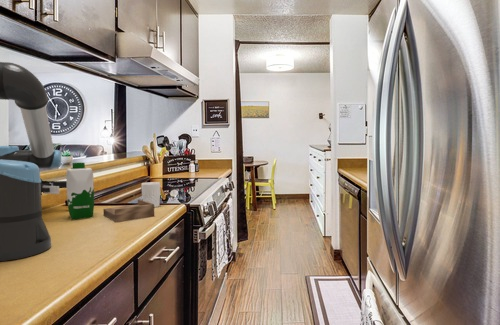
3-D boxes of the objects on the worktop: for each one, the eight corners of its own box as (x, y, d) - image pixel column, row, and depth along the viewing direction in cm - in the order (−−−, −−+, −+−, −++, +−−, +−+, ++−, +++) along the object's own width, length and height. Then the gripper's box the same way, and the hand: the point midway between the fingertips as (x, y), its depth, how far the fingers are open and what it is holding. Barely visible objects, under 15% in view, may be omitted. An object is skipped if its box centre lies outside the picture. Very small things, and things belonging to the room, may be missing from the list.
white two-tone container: (92, 213, 126) (90, 162, 125) (96, 217, 119) (94, 163, 118) (66, 216, 122) (64, 163, 120) (68, 221, 114) (66, 164, 113)
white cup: (155, 208, 135) (154, 184, 135) (138, 207, 137) (137, 184, 136) (164, 204, 143) (163, 182, 142) (147, 204, 144) (147, 182, 144)
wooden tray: (115, 222, 112) (115, 209, 112) (103, 215, 122) (103, 203, 122) (154, 216, 121) (154, 204, 121) (140, 210, 131) (139, 199, 131)
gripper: (55, 190, 139) (97, 192, 133) (-4, 201, 115) (45, 203, 109) (54, 173, 138) (96, 174, 133) (-5, 179, 114) (44, 181, 109)
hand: (73, 187), depth 121 cm, fingers open, 13 cm apart
